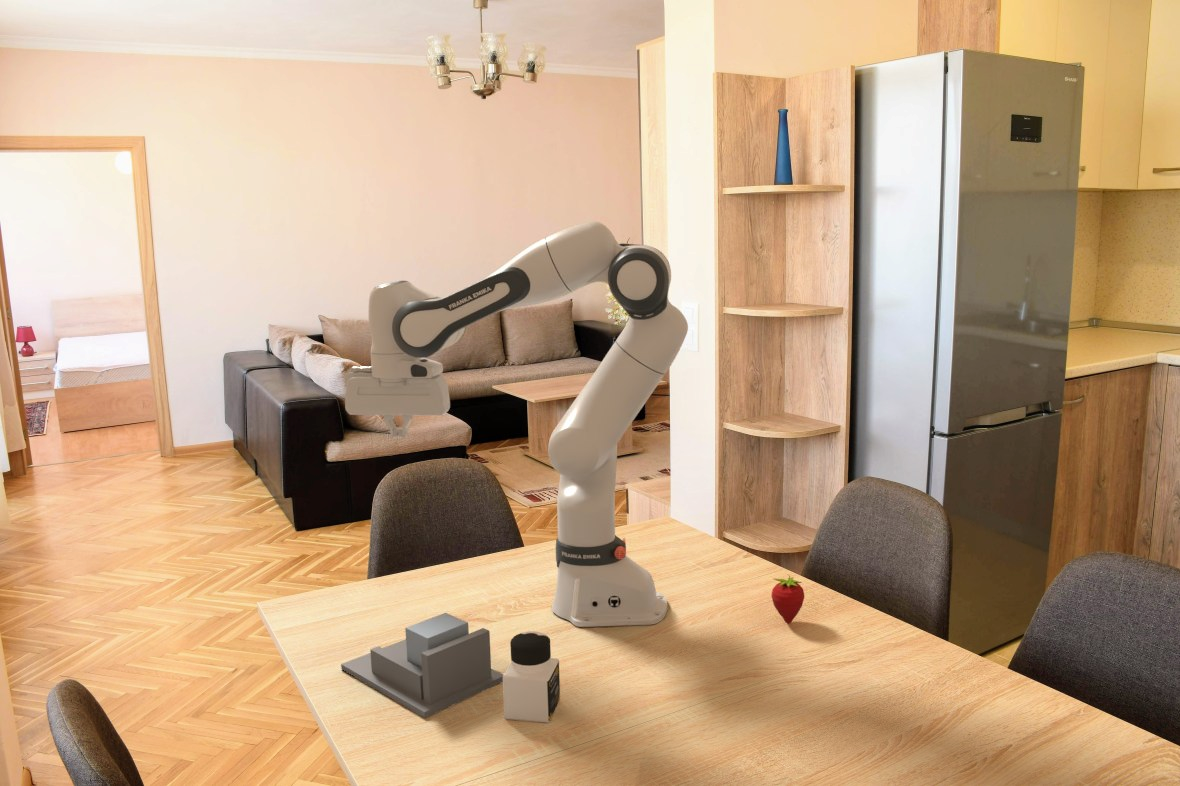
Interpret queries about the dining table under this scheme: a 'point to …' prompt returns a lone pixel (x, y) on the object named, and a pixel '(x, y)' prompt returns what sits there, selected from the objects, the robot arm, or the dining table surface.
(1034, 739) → the dining table surface
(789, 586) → the strawberry
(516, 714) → the medicine bottle
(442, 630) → the key block
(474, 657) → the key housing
